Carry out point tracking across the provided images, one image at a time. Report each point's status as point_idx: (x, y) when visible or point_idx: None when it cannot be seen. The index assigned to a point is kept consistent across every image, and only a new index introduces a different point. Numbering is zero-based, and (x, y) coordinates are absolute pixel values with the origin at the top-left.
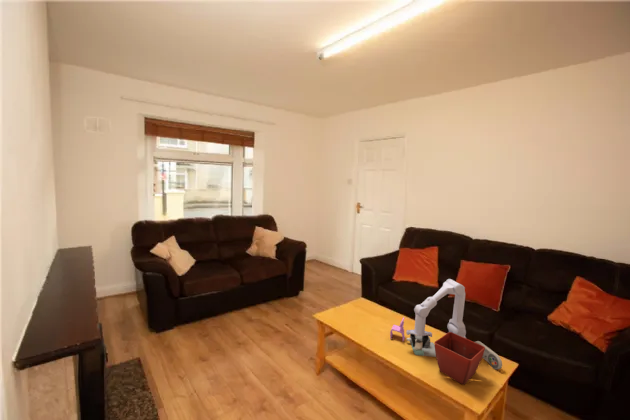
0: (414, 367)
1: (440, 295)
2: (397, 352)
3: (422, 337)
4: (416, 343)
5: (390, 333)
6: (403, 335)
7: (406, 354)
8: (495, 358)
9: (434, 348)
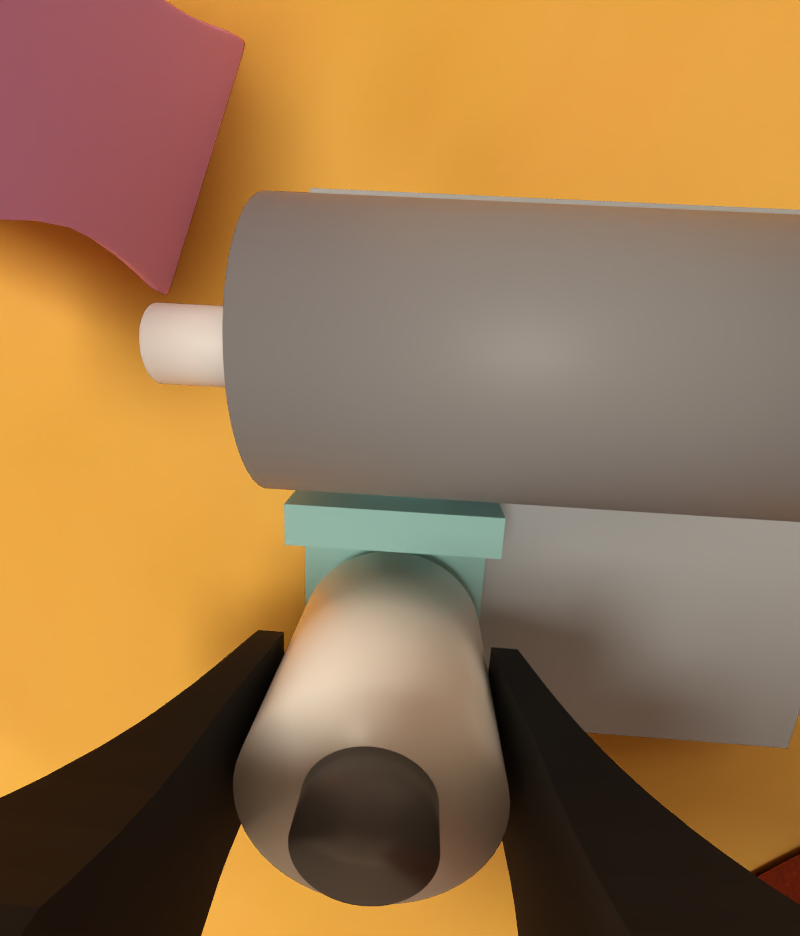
0: (242, 909)
1: None
2: (23, 619)
3: (568, 864)
4: (282, 856)
5: None
6: (74, 111)
7: (175, 659)
8: None
9: None
